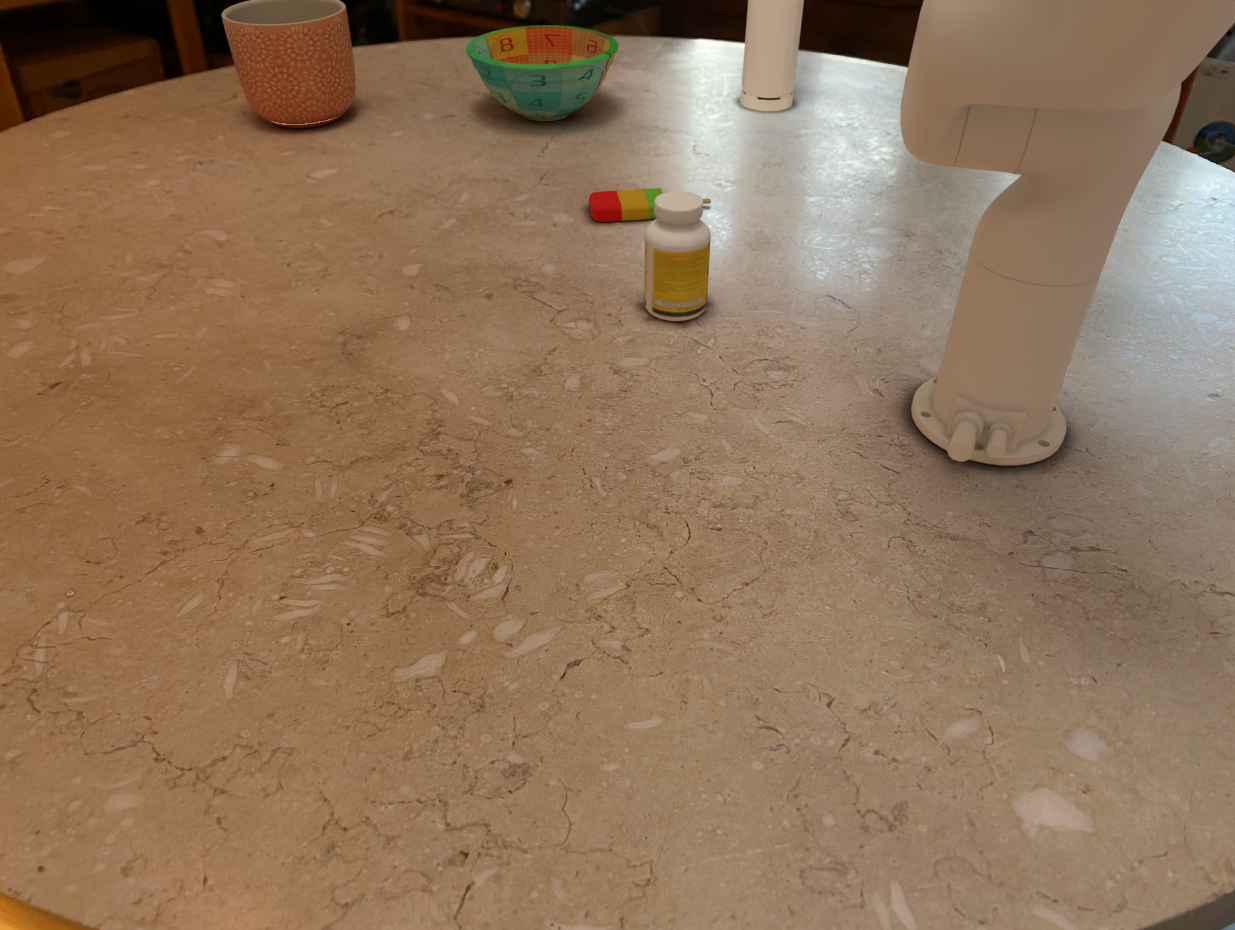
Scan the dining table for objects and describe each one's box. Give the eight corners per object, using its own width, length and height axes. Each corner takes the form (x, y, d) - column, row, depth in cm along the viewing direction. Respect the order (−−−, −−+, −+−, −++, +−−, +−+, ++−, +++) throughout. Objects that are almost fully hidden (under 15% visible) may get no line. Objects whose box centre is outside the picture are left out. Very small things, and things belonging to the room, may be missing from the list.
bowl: (441, 119, 141) (433, 49, 135) (534, 82, 156) (530, 17, 149) (559, 150, 131) (556, 76, 125) (646, 107, 146) (647, 38, 139)
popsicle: (587, 205, 117) (587, 190, 116) (705, 199, 119) (706, 184, 117) (592, 224, 113) (592, 209, 112) (715, 217, 114) (716, 202, 113)
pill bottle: (713, 321, 95) (720, 212, 87) (650, 326, 94) (652, 217, 87) (698, 290, 100) (704, 185, 92) (638, 295, 99) (639, 189, 92)
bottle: (763, 91, 152) (782, -110, 134) (802, 103, 147) (827, -104, 129) (729, 102, 147) (744, -104, 130) (769, 115, 143) (790, -98, 125)
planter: (386, 115, 143) (370, 7, 133) (291, 146, 133) (265, 31, 123) (320, 92, 152) (300, -11, 142) (225, 119, 142) (197, 11, 132)
